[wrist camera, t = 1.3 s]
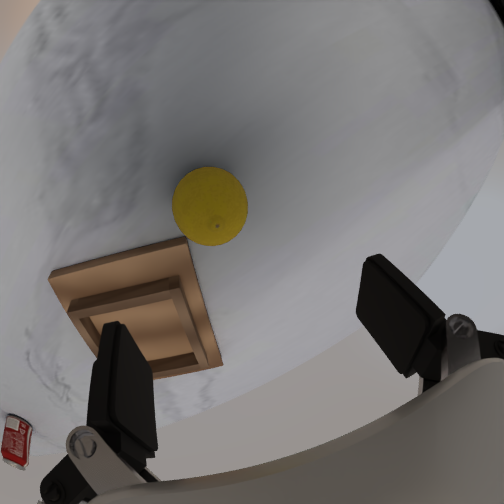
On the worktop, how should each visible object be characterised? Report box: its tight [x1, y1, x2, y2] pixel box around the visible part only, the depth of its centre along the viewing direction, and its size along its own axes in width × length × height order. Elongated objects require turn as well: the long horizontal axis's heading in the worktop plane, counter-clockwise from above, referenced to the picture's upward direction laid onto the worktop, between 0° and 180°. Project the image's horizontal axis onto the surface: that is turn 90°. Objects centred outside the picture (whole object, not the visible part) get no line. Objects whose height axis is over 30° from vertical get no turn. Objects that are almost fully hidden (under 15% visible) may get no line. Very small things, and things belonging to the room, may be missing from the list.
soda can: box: [1, 415, 32, 470], centre depth 29 cm, size 7×7×12 cm
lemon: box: [172, 167, 248, 246], centre depth 20 cm, size 6×6×8 cm
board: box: [48, 236, 223, 380], centre depth 27 cm, size 18×15×4 cm
